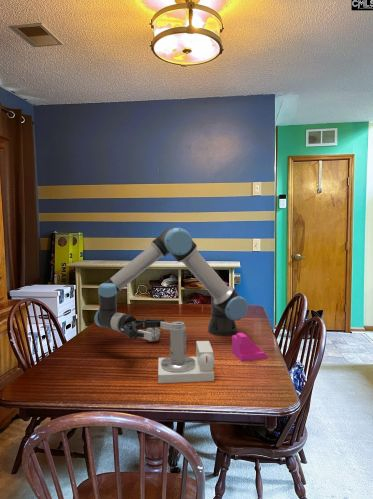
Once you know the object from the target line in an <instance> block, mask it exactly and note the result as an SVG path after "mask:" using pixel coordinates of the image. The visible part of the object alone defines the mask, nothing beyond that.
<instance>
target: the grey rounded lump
mask: <svg viewBox="0 0 373 499" xmlns="http://www.w3.org/2000/svg"><path fill="white" fill-rule="evenodd" d="M145 331H146V332H150V333H152V340H147V343H148V344H149V343H150V342H151V343H152V342H158V343H159V342H160V340H159V339H160V337H161V334H162V333H163V331H161V330H160V329H159V327H157V328H146V329H145Z"/></svg>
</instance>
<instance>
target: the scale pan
mask: <svg viewBox="0 0 373 499" xmlns="http://www.w3.org/2000/svg"><path fill="white" fill-rule="evenodd" d="M191 357H192V356H187V355H186V361H185V363H183V364H180V365H175V364H173V363H172V362H171V361H170V356H167V357H164V358H165V359H163V360H162V361H161V367H162V369H164V370H166V371H169V372H176V373H179V372H187V371H190V370H192V369H193V368H194V367H195V360H194V359H193V358H191Z"/></svg>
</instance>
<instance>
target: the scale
mask: <svg viewBox="0 0 373 499" xmlns="http://www.w3.org/2000/svg"><path fill="white" fill-rule="evenodd" d="M195 344H196V347H195V349H196V351H195V352H196V356H190V357H191V358H193V359H194V360H195V367H194V368H193V369H192V370H190V371H187V372H179V373H176V372H169V371H166V370H164V369H162V367H161V361H162V360H163V359H165V358H166V357H158V363H157V364H158V365H157V366H158V369H157V372H158V373H157V376H158V377H157V378H158V379H157V380H158V384H172V383H173V384H174V383H175V384H176V383H194V382H195V383H197V382H215V371H214V366H215V363H216V360H215V358H214V351H213V347H212V345H211V342H210V341H209V340H196V341H195Z"/></svg>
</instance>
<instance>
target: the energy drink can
mask: <svg viewBox="0 0 373 499" xmlns="http://www.w3.org/2000/svg"><path fill="white" fill-rule="evenodd" d="M186 356H187V326H186V325H185V322H183V321H173V322H171V326H170V330H169V357H170V361H171V362H172V363H173V364H175V365H180V364H183V363H185V361H186Z"/></svg>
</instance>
